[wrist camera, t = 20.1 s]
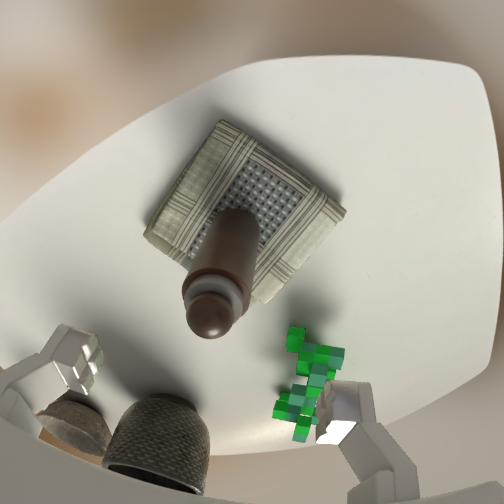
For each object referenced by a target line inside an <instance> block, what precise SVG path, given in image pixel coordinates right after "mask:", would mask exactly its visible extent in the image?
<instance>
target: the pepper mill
mask: <svg viewBox="0 0 504 504" xmlns="http://www.w3.org/2000/svg"><path fill="white" fill-rule="evenodd" d="M259 239H260V227H259V224H258V222H257V220H256V219H255V218H254V217H253V216H252V215H251V214H250V213H248V212H247V211H244V210H242V209H236V208H231V209H226V210H223V211H221V212H220V213H218V214H217V215H216V216H215V217H214V219H213V221H212V223H211V225H210V227H209V229H208V231H207V233H206V235H205V237H204V239H203V242H202V244H201V246H200V248H199V250H198V252H197V254H196V257H195V259H194V261H193V263H192V265H191V267H190V269H189V272H188V274H187V276H186V278H185V280H184V283H183V286H182V296H183V300H184V305H185V309H186V319H187V323H188V325H189V327H190V329H191V330H192V331H193V332H194V333H195V334H196V335H198V336H199V337H202V338H205V339H216V338H219V337H221V336H223V335H225V334H226V333H227V332H228V331H229V330H230V328H231V327H232V325H233V324H234V323H235V322H237V321H238V319H239V318H240V317H241V316H243V315H244V314H245V313H246V311H247V310H248V308H249V305H250V300H251V293H252V286H253V279H254V273H255V266H256V259H257V252H258V245H259Z"/></svg>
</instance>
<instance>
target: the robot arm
mask: <svg viewBox="0 0 504 504" xmlns="http://www.w3.org/2000/svg"><path fill="white" fill-rule="evenodd" d="M98 342H99V340H98V337H97V335H94V334H91V333H88V332H85V331H82V330H79V329H76V328H73V327H70V326H67V325H64V324H61V325H59V326H58V327H57V329H56V330H55V331H54V333H53V334H52V336H51V337H50V339H49V340H48V342H47V343H46V345H45V346H44V348H43V349H42V351H41V352H40V354H38V353H36V354H34V355H32V356H30V357H28V358H26V359H24V360H22V361H20V362H19V363H17V364H15V365H13V366H11V367H9V368H7V369H5V370H3V371H2V372H0V504H250V503H243V502H235V501H228V500H222V499H216V498H210V497H205V496H200V495H195V494H190V493H186V492H181V491H177V490H173V489H169V488H165V487H161V486H158V485H154V484H151V483H147V482H144V481H140V480H137V479H134V478H131V477H128V476H125V475H122V474H119V473H116V472H113V471H111V470H108V469H105V468H103V467H100V466H97V465H95V464H92V463H90V462H87V461H85V460H82V459H80V458H78V457H76V456H73V455H71V454H69V453H67V452H65V451H62V450H60V449H58V448H56V447H54V446H52V445H50V444H48V443H46V442H44V441H42V440H40V439H38V436H39V434H40V432H41V430H42V428H43V424H42V422H41V421H40V420H39V419H38V417H37V416H36V415H35V414H37V413H38V412H39V411H40V410H42V409H43V408H45V407H46V406H48V405H49V404H50V403H52V402H53V401H54V400H56V399H57V398H58V397H60V396H61V395H63V394H64V393H65V392H67V391H68V390H69V389H71V390H74V391H76V392H79V393H82V394H85V395H88V393H89V391H90V389H91V387H92V385H93V383H94V379H93V376H94V375H95V374H97V373H99V371H100V369H101V367H102V362H103V352H102V349H101V348H100V347H99V346H98V345H97V344H98ZM316 417H317V419H318V420H319V422H318V424H317V426H316V443H324V444H339V445H338V446H339V448H340V450H341V451H342V453H343V455H344V456H345V458H346V460H347V461H348V463H349V464H350V466H351V468H352V469H353V471H354V473H355V474H356V476H357V478H358V479H359V481H360V482H361V483H360V484H359V485H357V486H356V487H354V488H352V489H351V490H350V491H349V492H348V493H347V502H348V503H347V504H504V487H503V486H502V485H501V484H500V483H498V482H497V481H489V482H486V483H482V484H479V485H476V486H472V487H469V488H465V489H461V490H457V491H453V492H449V493H445V494H440V495H436V496H431V497H426V498H420V493H419V484H418V476H417V468H416V465H415V464H414V463H413V462H412V461H411V460H410V458H409V457H408V456H407V455H406V453H405V452H404V451H403V450H402V449H401V447H400V446H399V445H398V444H397V442H396V441H395V440H394V439H393V438H392V436H391V435H390V434H389V433H388V432H387V430H386V429H385V428H384V427H383V425H382V424H381V423H377V422H376V415H375V408H374V401H373V394H372V388H371V385H370V383H367V382H355V381H338V380H328V381H326V383H325V385H324V391H322V392H320V394H319V396H318V399H317V403H316Z"/></svg>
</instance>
